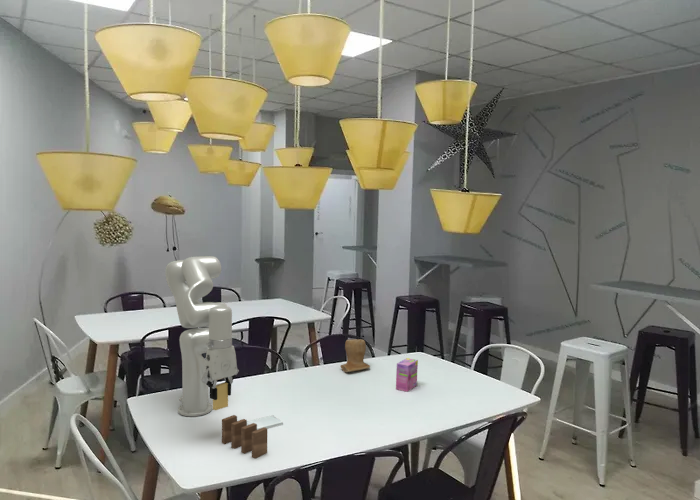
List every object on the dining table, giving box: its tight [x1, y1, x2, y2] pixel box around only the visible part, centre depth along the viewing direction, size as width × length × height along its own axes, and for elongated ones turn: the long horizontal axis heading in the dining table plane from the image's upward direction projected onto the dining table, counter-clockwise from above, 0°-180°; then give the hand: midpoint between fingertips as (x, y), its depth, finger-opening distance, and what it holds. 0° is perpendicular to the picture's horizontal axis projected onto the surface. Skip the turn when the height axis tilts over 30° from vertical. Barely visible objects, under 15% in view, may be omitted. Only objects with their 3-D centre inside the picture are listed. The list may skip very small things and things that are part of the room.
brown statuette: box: [340, 338, 371, 373], centre depth 251 cm, size 15×12×15 cm
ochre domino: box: [212, 381, 229, 411], centre depth 172 cm, size 2×5×8 cm, turn 141°
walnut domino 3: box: [240, 423, 257, 454], centre depth 163 cm, size 2×5×8 cm, turn 141°
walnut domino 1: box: [221, 414, 238, 445], centre depth 169 cm, size 2×5×8 cm, turn 141°
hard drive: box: [247, 414, 284, 430], centre depth 183 cm, size 2×8×12 cm
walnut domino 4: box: [251, 427, 268, 460], centre depth 160 cm, size 2×5×8 cm, turn 141°
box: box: [395, 357, 419, 393], centre depth 226 cm, size 10×6×12 cm, turn 148°
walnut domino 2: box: [230, 418, 248, 450], centre depth 166 cm, size 2×5×8 cm, turn 141°
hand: (220, 396), depth 172 cm, fingers closed on ochre domino, 4 cm apart
